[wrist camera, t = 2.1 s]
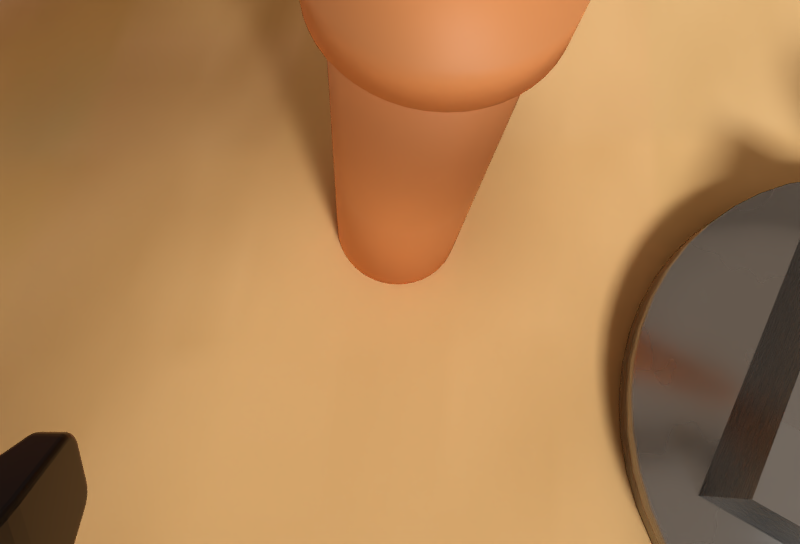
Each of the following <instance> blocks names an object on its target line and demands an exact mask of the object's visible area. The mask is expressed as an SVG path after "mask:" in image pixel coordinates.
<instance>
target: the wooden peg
mask: <svg viewBox="0 0 800 544" xmlns="http://www.w3.org/2000/svg"><path fill="white" fill-rule="evenodd" d="M589 2H590V0H300V5H301V10H302V14H303V17H304V20H305V23H306V25H307V28H308V31H309V33H310V34H311V36H312V38H313V40H314V42H315V43H316V45H317V47H318V48H319V49H320V51H321V52H322V53H323V55H324V56H325V57H326V59H327V65H328V81H329V96H330V112H331V128H332V143H333V159H334V175H335V190H336V206H337V222H338V235H339V240H340V244H341V247H342V249H343V251H344V253H345V255H346V257H347V258H348V259H349V261H350V262H351V263H352V264H353V265H354V266H355V268H357V269H358V270H359V271H360V272H362V273H363V274H365V275H366V276H368V277H370V278H372V279H374V280H377V281H380V282H383V283H389V284H407V283H412V282H416V281H419V280H422V279H424V278H426V277H428V276H429V275H431V274H432V273H434V272H435V271H436V270H437V269H439V268H440V267H441V265H442V264H443V263H444V262H445V261H446V259H447V258H448V256H449V254H450V252H451V250H452V248H453V245H454V243H455V241H456V239H457V236H458V234H459V232H460V230H461V227H462V225H463V223H464V220H465V218H466V216H467V214H468V211H469V209H470V207H471V205H472V202H473V200H474V198H475V196H476V193H477V191H478V189H479V187H480V184H481V182H482V180H483V177H484V175H485V173H486V171H487V168H488V166H489V164H490V162H491V159H492V157H493V155H494V153H495V150H496V148H497V146H498V144H499V141H500V139H501V137H502V135H503V132H504V130H505V128H506V125H507V123H508V121H509V119H510V116H511V114H512V112H513V110H514V107H515V105H516V103H517V101H518V98H519V96H520V94H522V93H523V92H525V91H527V90H528V89H530V88H532V87H533V86H534V85H535V84H537V83H538V82H539V81H540V80H541V79H543V78H544V77H545V76H546V75H547V74H548V73H549V72H550V71H551V69H552V68H553V67H554V66H555V65H556V64H557V62H558V61H559V59H560V58H561V56H562V55H563V53H564V52H565V50H566V48H567V46H568V44H569V42H570V40H571V38H572V36H573V34H574V32H575V30H576V28H577V26H578V24H579V22H580V20H581V18H582V16H583V14H584V12H585V10H586V8H587V6H588V4H589Z"/></svg>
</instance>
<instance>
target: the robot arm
mask: <svg viewBox="0 0 800 544" xmlns="http://www.w3.org/2000/svg"><path fill="white" fill-rule="evenodd" d="M86 500H87V483H86V478H85V474H84V470H83V465H82V461H81V457H80V453H79V448H78V444H77V441H76V439H75V437H74V436H73V435H72V434H70V433H67V432H37V433H33V434H31V435H29V436H27V437H26V438H24V439H23V440H22V441H20V442H19V443H17V444H16V445H14V446H13V447H12V448H10V449H9V450H7V451H6V452H4V453H3V454H1V455H0V544H74V543H75V539H76V536H77V532H78V529H79V526H80V522H81V519H82V516H83V512H84V509H85V505H86Z"/></svg>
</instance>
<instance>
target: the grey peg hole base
mask: <svg viewBox="0 0 800 544" xmlns="http://www.w3.org/2000/svg"><path fill="white" fill-rule="evenodd" d="M619 409H620V434H621V440H622V446H623V452H624V459H625V465H626V471H627V474H628V478H629V481H630V485H631V488H632V491H633V495H634V498H635V502H636V505H637V508H638V511H639V513H640V516H641V518H642V520H643V523H644V525H645V527H646V530H647V532H648V535H649V537H650V539H651V542H652V544H800V182H797V183H791V184H787V185H784V186H781V187H778V188H775V189H772V190H769V191H766V192H763V193H760V194H758V195H756V196H754V197H752V198H750V199H748V200H746V201H744V202H742V203H740V204H738V205H736V206H734V207H733V208H731V209H730V210H728V211H727V212H726V213H724V214H723V215H721V216H720V217H718V218H717V219H716V220H714V221H713V222H711V223H710V224H708V225H707V226H706V227H704V228H703V229H701V230H700V231H698V232H697V233H696V234H694V235H693V236H692V237H691V238H690V239H689V240H688V241H687V242H686V243H685V244H684V245H682V246H681V247H680V248H679V249H678V250H677V251H676V252H675V253H674V254H673V255H672V256H671V258H670V259H669V260H668V262H667V263H666V264H665V266H664V267H663V268H662V269H661V271H660V272H659V273H658V275H657V276H656V277H655V279H654V281H653V282H652V284H651V286H650V288H649V290H648V291H647V293H646V295H645V297H644V299H643V300H642V302H641V304H640V306H639V309H638V312H637V314H636V317H635V320H634V322H633V325H632V328H631V330H630V333H629V337H628V341H627V346H626V350H625V355H624V359H623V363H622V372H621V383H620V395H619Z"/></svg>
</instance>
